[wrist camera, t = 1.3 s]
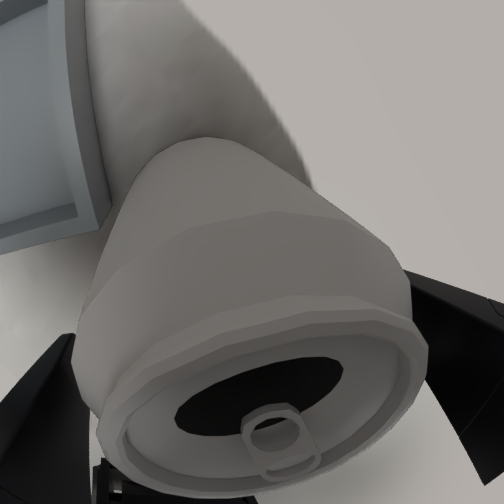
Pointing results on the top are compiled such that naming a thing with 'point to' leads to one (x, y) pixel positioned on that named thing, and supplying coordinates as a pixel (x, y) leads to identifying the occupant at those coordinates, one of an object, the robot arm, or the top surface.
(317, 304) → the can
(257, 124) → the top surface
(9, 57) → the bin
